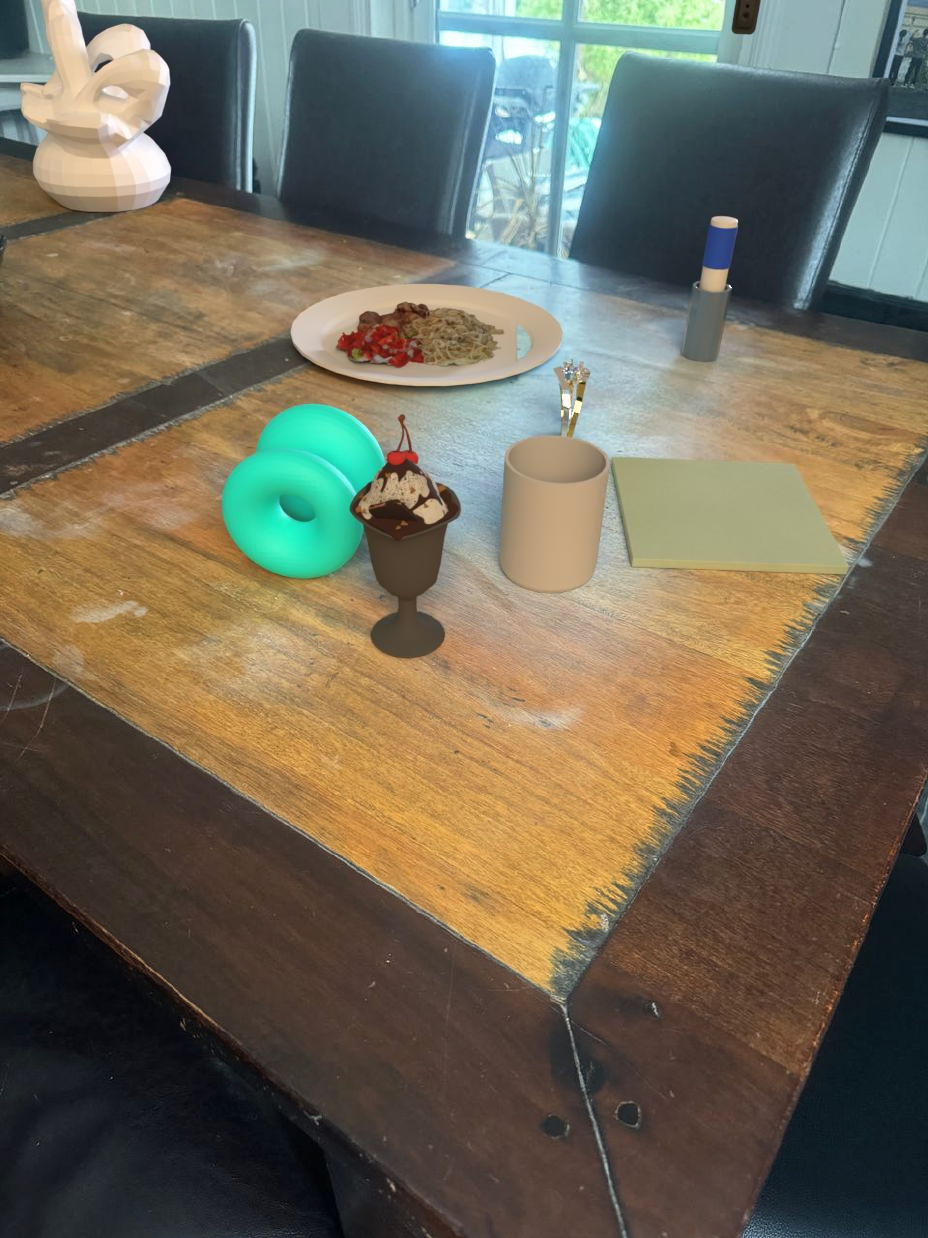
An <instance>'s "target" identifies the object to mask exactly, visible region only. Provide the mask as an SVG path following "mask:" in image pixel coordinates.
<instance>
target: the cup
mask: <svg viewBox="0 0 928 1238" xmlns="http://www.w3.org/2000/svg"><path fill="white" fill-rule="evenodd" d="M503 460H504V461H503V462H504V463H503V478H502V479H503V481H502V498H501V514H500V515H501V516H500V531H499V532H500V534H499V551H498V552H499V553H498V558H499V559H498V561H499V565H500V568H501V569H500V570H502V572H503V573H504V574H505V575H506V577H507V578H508V579H509V580H510V581H511V582H513V584H515V585H517V586H519V587H521V588H524V589H526V590H530V591H533V592H537V593H545V594H556V593H557V594H558V593H567V592H569V591H574V590H576V589H577V588H581V587H582V586H584V584H586V583H587V582H588V581H589V580H590V579H591V578H592V577H593V575H594V573H595V571H596V568H597V564H598V558H599V549H600V542H601V536H602V527H603V521H604V520H603V519H604V513H605V506H606V499H607V498H606V497H607V492H608V491H607V490H608V483H609V476H610V470H611V469H610V468H611V461H610V460H611V459H610V458H609V456H608V454H607V453H606V452H605V451H604V450H603V449H602V448H601V447H599V446H598V445H595V444H593V443H591V442H590V441H587V440H583V439H581V438H577V437H567V436H560V435H555V434H550V435H549V434H547V435H537V436H536V435H535V436H532V437H531V436H529V437H527V438H523V439H521V440H517V441H516V442H515V443H513V444H511V445H510V446H509V447H508V448H507V450H505V454H504V459H503Z"/></svg>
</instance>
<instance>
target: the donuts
mask: <svg viewBox="0 0 928 1238" xmlns="http://www.w3.org/2000/svg"><path fill="white" fill-rule="evenodd" d="M385 465H386V460H385V455H384V453H383V451H382V448H381V446H380V444H379V442H378V441H377V439H376V438H375V435H373V433H372V432H371V431H370V430H369V429H368V427H367V426H366V425H365V424H364V423H362V422H361V421H360V420H359V419H357V418H356V417H355V416H353V415H352V414H350V413H349V412H347V411H345V410H342V409H339V408H338V407H334V406H331V405H325V404H321V403H303V404H298V405H295V406H291V407H289V408H286V409H283V410H282V411H281V412H279V413H277V414H276V415H275V416H273V418H271V419H270V420H269V421H268V423H267V424H266V425H265V426H264V428H263V429H262V431H261V433H260V434H259V438H258V441H257V444H256V450H255V452H254V453H252V454H250V455H248V456H247V457H246V458H243V460H241V461H240V462H239V463H238V464H237V465H236V466H235V467H234V468H233V469H232V470H231V472H230V474H229V475H228V476H227V478H226V480H225V483H224V486H223V490H222V494H221V513H222V519H223V522H224V525H225V527H226V530H227V532H228V534H229V536H230V538H231V540H232V541H233V542H234V544H235V545H236V547H237V548H238V549H239V550H240V551H241V552H242V553H243V555H245V556H246V557H247V559H250V560H251V561H252V562H253V563H254V564H256V565H257V566H259V567H261V568H263V569H264V570H267V571H269V572H271V573H273V574H276V575H279V576H283V577H285V578H286V577H287V578H290V579H301V580H302V579H303V580H306V579H315V578H319V577H324V576H327V575H329V574H332V573H334V572H336V571H338V570H339V569H341V568H342V567H343V566H345V565H346V564H347V563H349V561H350V560H351V559H352V558H353V556H354V555H355V553H356V551H357V550H358V548H359V546H360V544H361V541H362V538H363V533H364V527H363V524H362V523H361V522H360V521H358V520H357V519H356V518H354V516H353V515H352V514H351V512H350V510H349V509H350V504H351V502H352V500H353V498H354V497H355V495H356V494H357V493H358V492H359V491H360V490H361V489H362V488H363V487H365V486H366V485H367V484H368V483H369V482H371V481H373V479H374V477H375V475H376V473H377V472H378V471H379V470H380V469H381V468H382V467H383V466H385Z"/></svg>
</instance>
